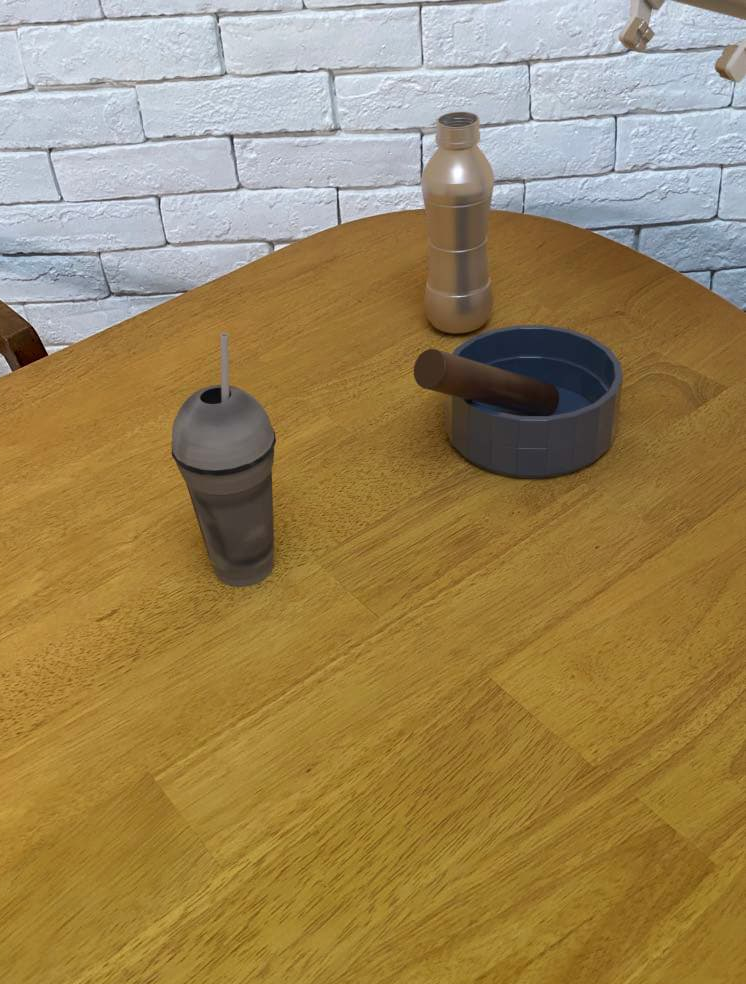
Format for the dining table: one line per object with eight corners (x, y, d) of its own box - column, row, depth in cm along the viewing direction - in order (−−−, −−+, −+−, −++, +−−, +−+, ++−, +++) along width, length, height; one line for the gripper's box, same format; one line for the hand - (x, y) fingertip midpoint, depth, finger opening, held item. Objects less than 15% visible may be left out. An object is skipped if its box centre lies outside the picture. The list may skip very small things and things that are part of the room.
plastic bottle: (506, 325, 109) (513, 119, 96) (451, 350, 106) (450, 141, 93) (464, 300, 113) (465, 99, 100) (410, 323, 110) (403, 119, 97)
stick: (548, 375, 96) (433, 340, 84) (565, 402, 94) (451, 370, 83) (523, 398, 97) (407, 367, 85) (540, 425, 96) (424, 397, 84)
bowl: (579, 372, 102) (584, 313, 98) (642, 464, 91) (650, 402, 87) (427, 398, 100) (426, 340, 97) (472, 495, 90) (473, 433, 86)
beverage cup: (202, 535, 88) (158, 309, 75) (294, 532, 88) (266, 304, 75) (189, 600, 83) (140, 368, 70) (288, 598, 82) (257, 364, 69)
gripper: (934, -66, 75) (807, 120, 78) (701, -107, 89) (599, 53, 91) (908, -130, 71) (774, 70, 73) (666, -163, 84) (560, 7, 87)
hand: (675, 60), depth 82 cm, fingers open, 8 cm apart
